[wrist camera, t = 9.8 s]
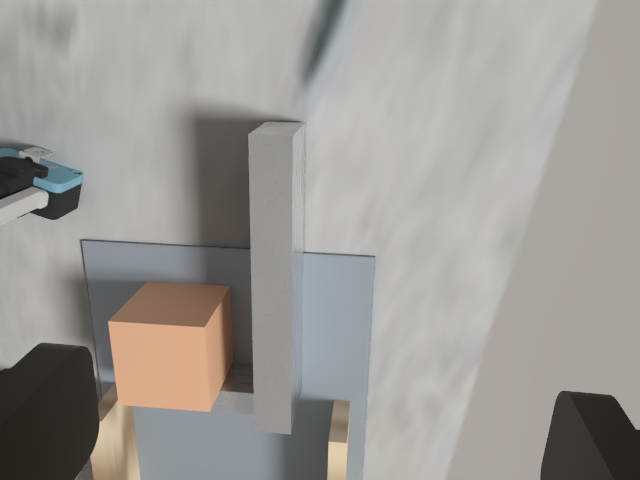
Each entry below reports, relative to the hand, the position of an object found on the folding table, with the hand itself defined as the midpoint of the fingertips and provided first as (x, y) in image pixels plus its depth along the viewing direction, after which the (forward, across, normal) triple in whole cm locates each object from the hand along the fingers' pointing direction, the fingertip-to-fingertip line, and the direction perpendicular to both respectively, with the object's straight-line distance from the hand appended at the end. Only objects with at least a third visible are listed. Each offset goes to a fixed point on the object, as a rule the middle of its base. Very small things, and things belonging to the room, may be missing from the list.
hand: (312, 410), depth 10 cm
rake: (+21, +8, +6) cm, 23 cm away
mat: (+21, +7, +16) cm, 27 cm away
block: (+21, +9, +10) cm, 25 cm away
